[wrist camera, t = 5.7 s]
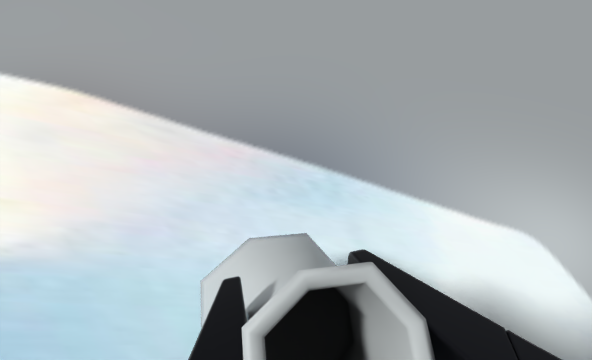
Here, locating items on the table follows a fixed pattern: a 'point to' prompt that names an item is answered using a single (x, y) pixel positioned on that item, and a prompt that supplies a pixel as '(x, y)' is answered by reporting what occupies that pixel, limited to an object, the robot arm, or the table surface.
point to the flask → (317, 305)
